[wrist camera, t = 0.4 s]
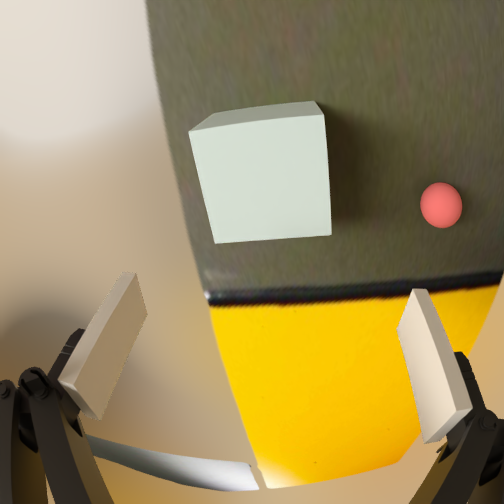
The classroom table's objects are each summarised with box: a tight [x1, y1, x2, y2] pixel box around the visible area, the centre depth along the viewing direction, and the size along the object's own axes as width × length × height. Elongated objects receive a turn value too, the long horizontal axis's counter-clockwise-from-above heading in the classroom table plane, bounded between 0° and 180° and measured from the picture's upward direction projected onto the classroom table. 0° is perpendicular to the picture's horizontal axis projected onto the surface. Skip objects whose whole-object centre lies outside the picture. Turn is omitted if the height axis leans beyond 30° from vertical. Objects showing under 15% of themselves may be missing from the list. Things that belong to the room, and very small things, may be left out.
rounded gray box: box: [189, 101, 332, 244], centre depth 28 cm, size 10×10×9 cm
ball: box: [420, 182, 462, 228], centre depth 30 cm, size 5×5×5 cm
